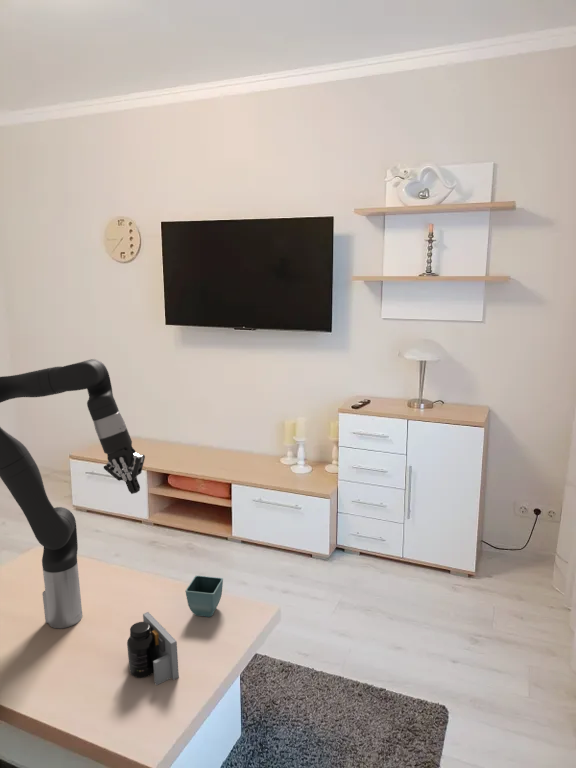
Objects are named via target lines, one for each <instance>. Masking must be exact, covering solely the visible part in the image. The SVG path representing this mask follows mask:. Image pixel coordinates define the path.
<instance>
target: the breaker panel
mask: <svg viewBox="0 0 576 768" xmlns="http://www.w3.org/2000/svg"><path fill="white" fill-rule="evenodd" d="M142 617H143V618H142V622H147V623H148V624H149V625H150V630H151V632H152V633H153V634H154V636H155V644H156V656H157V660H155V661H153V666H154V673H153V679H154V684H155V685H156V686H158V685H160V684H162V683H164V682H166V681H168V680H170V679H172V680H173V681H174V680H177V679H179V677H180V675H179V659H178V658H179V657H178V642H177V640H176V639H175V638H174V637H173V636H172V634H171V633H170V632H169V631H167V630H166V628H164V626H163V625H161V623H160V622H159V621H158V620H157V619H156V618H155V617H154V616H153V615H152V614H151V613H150V612H149V611H146V612H144V613H142Z"/></svg>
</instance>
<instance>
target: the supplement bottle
mask: <svg viewBox="0 0 576 768" xmlns="http://www.w3.org/2000/svg"><path fill="white" fill-rule="evenodd" d="M126 647H127V657H128V658H127V659H128V668H129V673H130V675H131V676H133V677H134V678H138V679H143V678H147V677H150V676H151V675H152V674H153V675H154V666H153V661H155V660H157V656H156V644H155V636H154V634H153V633H152V632H151V630H150V625H149V624H148V623H147V622H144V621H137V622H135V623H134V624H132V625H131V626H130V628H129V637H128V639H127V642H126Z"/></svg>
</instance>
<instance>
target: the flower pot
mask: <svg viewBox="0 0 576 768" xmlns="http://www.w3.org/2000/svg"><path fill="white" fill-rule="evenodd" d="M223 583H224V578H223V577H214V576H206V575H195V576H194V577H193V579H192V580H191V582H190V583H189V585H188V586H187V587H186V589H185V596H186V602H187V606H188V608H189V610H190V611H191V613H192V614H194V616H196V617H197V616H198V617H199V616H200V617H205V618H206V617H207V618H208V617H209V618H211V617H212V616H213V615H214V613H215V611H216V610H217V607H219V606H218V605H219V604H220V602H221V597H222V594H223V586H224V585H223Z"/></svg>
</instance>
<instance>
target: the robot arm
mask: <svg viewBox="0 0 576 768" xmlns="http://www.w3.org/2000/svg"><path fill="white" fill-rule="evenodd" d="M112 387H113V386H112V383H111V377H110V373H109V371H108V369H107V367H106V365H105V364H104V363H103V362H102V361H101V360H99V359H95V358H92V359H91V358H90V359H88V360H83V361H80V362H76V363H72V364H68V365H64V366H52V367H47V368H43V369H38V370H33V371H28V372H25V373H19V374H13V375H4V376H0V404H1V403H4V402H6V401H9V400H13V399H19V398H43V397H49V396H53V395H54V396H55V395H59V394H63V393H65V392H72V391H73V392H74V391H75V392H76V391H81V390H87V394H88V400H87V402H86V405H87V410H88V411H89V414H90V417H91V419H92V421H93V427H94V430H95V433H96V435H97V437H98V441H99V442H100V446H101V448H102V451H103V452H104V454H105V455H107V458H106V459H107V463H106V465H104V466H103V470H105V471H106V472H107V473H108V474H110V475H111V476H112V477H113V478H115V479H116V480H117V481H119V482H120V481H123V482H124V483H125V485H126V487H127V490H128V492H129V493H130V494H131V495H133V494H137V493H138V492H140V489H141V487H140V483H139V481H138V476H139V475H140V474H142V471H143V467H144V463H145V459H146V456H145V454H139V453H137V452H136V450H135V449H134V447H133V445H132V444H133V441H132V438H131V436H130V433H129V430H128V428H127V427H128V426H127V425H126V423H125V419H124V418H123V416H122V414H121V412H120V410H119V408H118V405H117V402H116V399H115V398H114V394H113V388H112ZM0 479H1V481H2V482H3V484H4V485H5V487H6V488H7V489H8V491H9V492H10V494H11V496H12V497H13V499H14V500H15V502H16V503H17V505H18V506H19V507H20V509H21V511H22V513H23V514H24V517H25V518H26V520H27V523H28V524H29V527H30V528H31V530H32V533H33V535H34V537H35V539H36V541H38V543H39V544H40V545H41V546H42V547H43V552H42V559H41V565H42V572H43V573H42V575H43V583H44V590H43V591H42V594H41V595H42V602H43V603H42V604H43V610H44V612H43V613H44V619H45V623H46V624H48V625H49V626H50V627H51V628H53V629H66V628H70V627H73V626H74V625H76V624H78V623H79V622H80V621H81V619H82V618H83V609H82V597H81V586H80V577H79V575H80V573H79V565H78V548H79V547H78V532H77V529H78V528H77V521H76V517H75V515H74V514H73V513H72V512H71V510H70V509H67V508H66V507H62V506H59V507H58V506H57V507H54V505H52V503H51V501H50V499H49V497H48V495H47V492H46V489H45V486H44V482H43V478H42V474H41V472H40V469H39V467H38V465H37V462H36V461H35V460H34V458H33V456H32V454H31V453H30V451H29V450H28V448H27V447H26V446H25V445H24V443H22V442H21V441H20V440H18V439H17V438H16V437H14V436H13V435H11V434H10V433H8V432H7V431H6V430H4V429H3V428H2V427H1V426H0Z"/></svg>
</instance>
